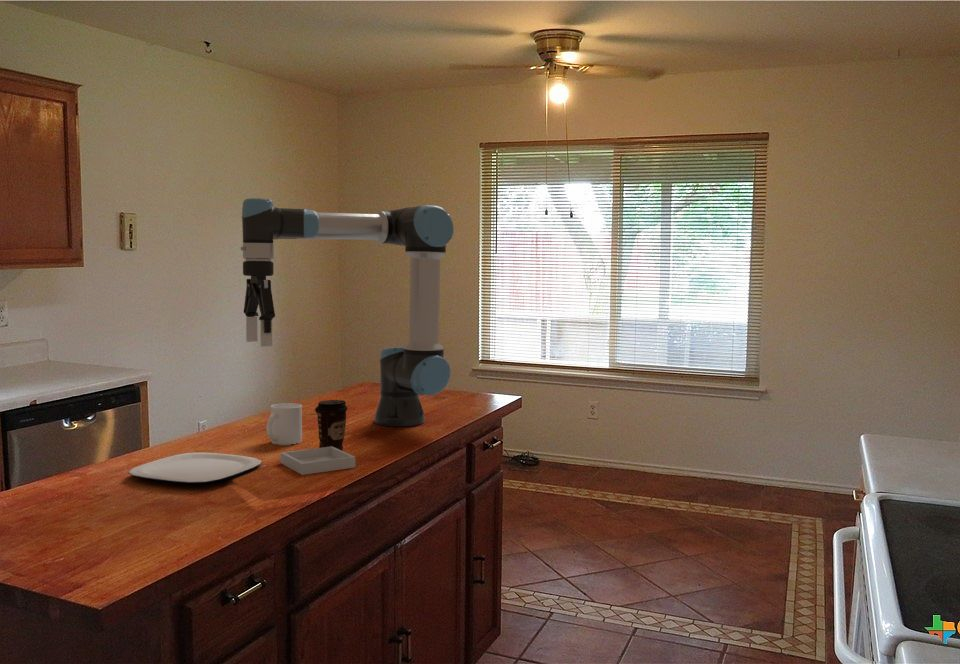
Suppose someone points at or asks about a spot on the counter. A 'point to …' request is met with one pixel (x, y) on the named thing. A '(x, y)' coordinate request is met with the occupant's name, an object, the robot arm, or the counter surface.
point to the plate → (195, 467)
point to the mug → (285, 424)
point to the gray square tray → (317, 460)
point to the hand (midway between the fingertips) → (259, 343)
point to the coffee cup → (331, 423)
